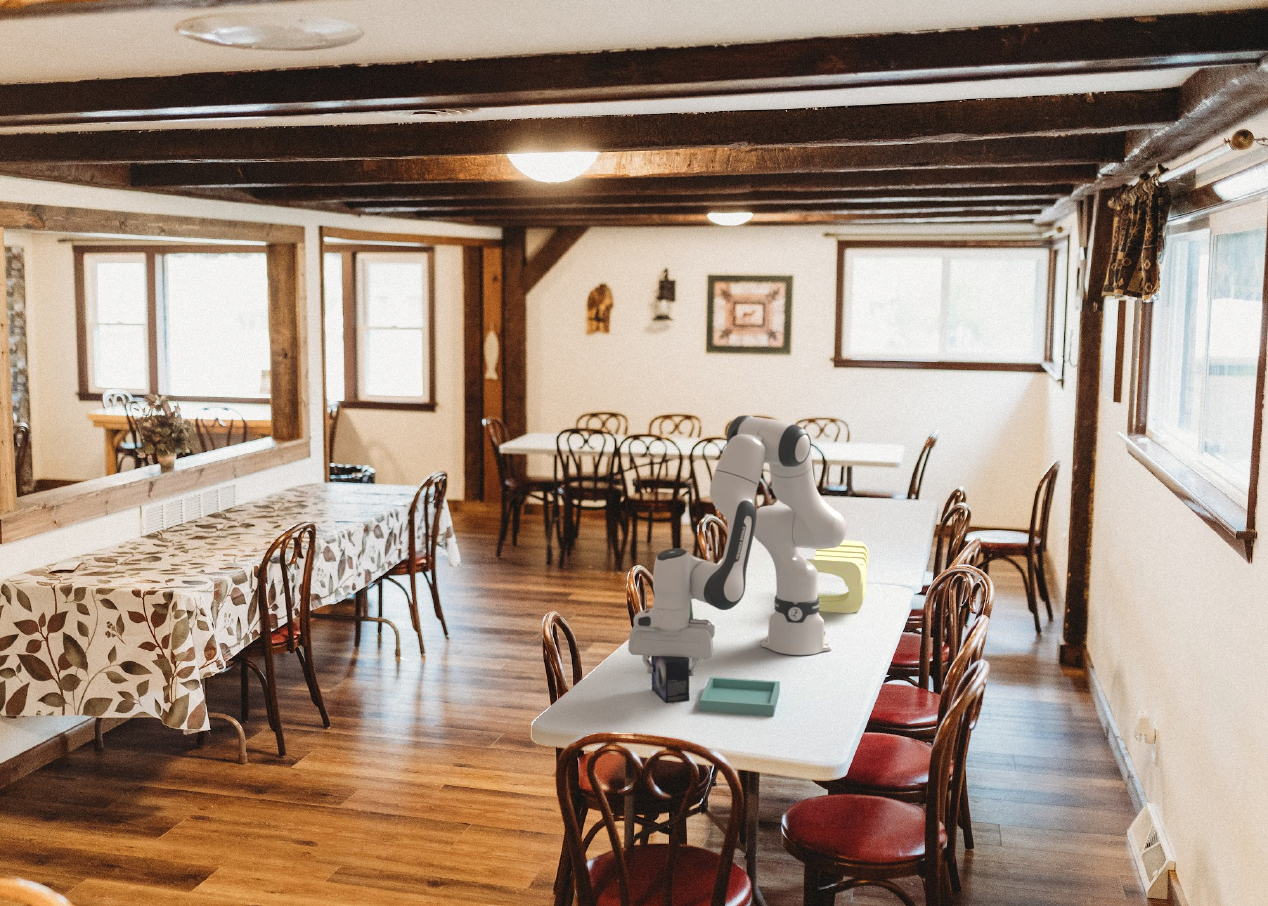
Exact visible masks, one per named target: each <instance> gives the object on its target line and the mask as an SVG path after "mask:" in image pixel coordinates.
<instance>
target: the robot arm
mask: <svg viewBox="0 0 1268 906" xmlns="http://www.w3.org/2000/svg"><path fill="white" fill-rule="evenodd" d="M725 438H726V445H725V448H724V450H723V452H722V454H721V456H720V458H719V461H717V462H718V463H717V465H716V467H715V470H714V473H713V476H712V477H711V478H712V479H711V482H710V485H709V498H710V500H711V502H712V505H713V506H714V507H715V509H716V510H717V511H718V512H719V513H720V514H721V515H722V516H723V517H724V518H725V520H726V522H727V525H728V526H727V527H728V532H727V537H726V542H725V546H724V551H723V556H722V560H721V562H719V563H716V562H712V561H710V560H705V559H702V558H700V557H697V556H695V555H692V554H690V553H689V552H688V551H687V550H686V549H684V548H677V547H676V548H669V549H665V550H662V551H661V552H659V553H658V554H657V556H656V557H655V561H654V565H653V573H652V588H653V589H652V590H653V594H654V598H653V602H652V607H651V608H648V609H644V610H641V611H638V612H637V613H636V614H635V615H634V617H633V620H632V621H633V627H632V628H631V630H630V632H629V638H628V644H627V645H628V647H627V649H628V652H629V654H631V655H633V656H635V655H636V656H642V661H643V662H644V664H645V666H646V670H647V671H646V673H647V674H650V675H652V674H654V665H651V661H650V657H651V656H675V657H687V658H689V659H691V663H693V664H692V666H689V677H694V676H695V668H696V667H697V665H698V663H699V662H700V660H710V659H711V658H712V657H713V655H714V651H715V649H714V641H713V640H714V639H713V638H714V636H715V634H716V632H715V631H716V628H715V625H714V623H713V622H711V621H710V620H708V619H698V618H693V619H690V600H691V601H692V600H697V601H700V602H703V603H706V604H708V605H710V606H711V607H714V608H715V609H718V610H720V611H728V610H731V609H733V608H734V607H735V606H737V605H738V604H739V603H740V602H741V600H742V599H743V597H744V594H745V592H746V591H745V590H746V582H747V581H746V580H747V579H746V578H747V577H746V576H747V568H748V563H749V558H750V554H751V549H752V545H753V540H754V538H755V539H756V541H758V542H759V544H761V545H762V546H763V547H764V548H765V549H766V551H767V552H768V554H769V556H770V557H771V559H772V561H773V565H774V569H775V580H776V595H775V596H774V602H773V604H774V611H773V612H772V614H770V616H769V618H768V629H767V636H766V638H764V639H763V640H762V641H761V643H760V644H761V645H760V646H761V647H762V648H766V649H769V650H771V651H773V652H776V653H779V654H784V655H791V656H808V655H815V654H818V653H819V654H820V653H822V652H829V651H831V650H832V645H831V644H830V642H829V640H828V638H827V636H826V631H825V619H823V617H822V616H821V615H820V613H819V612H820V611H819V606H820V603H819V598H818V595H819V593H818V591H819V590H818V589H819V572H817V569H816V568H815V566H814V565H813V564H812V563H811V562H809V561H807V558H806V559H805V558H804V557H803V556H802V555H801V553H800V552H799V548H801V549H802V548H803V549H810V550H811V549H812V550H816V549H829V548H837V547H838V546H839V545H840V544H841V543H842V542H843V540H845V539H846V536H847V530H848V529H847V523H846V520H845V518H844V516H843V515H842V513H840V512H839V511H837V510H836V509H835V508H833V507H832V506H830V504H828V503H827V502H826V500H824V498H823V497H822V495H821V494H820V493H819V490H818V488H817V485H816V482H815V475H814V468H813V462H812V461H813V459H812V455H811V448H812V446H811V445H812V442H811V437H810V435H809V433H808V431H807V430H806V429H805V428H803V427H801V426H800V425H797V424H790V423H788V422H785V421H781V420H779V419H774V418H765V417H757V416H756V417H755V416H753V415H740V416H739V415H738V416H737V417H736V418H735V419H733V420H732V421H731V423H730V424H729V425H728V428H727V431H726V437H725ZM765 463H767V464H768V466H769V474H770V483H771V487H772V493H773V495H774V497H775V498H776V500H778V501H779V502H780V503H782V504H772V505H763V506H760V507H758V508H757V509H756V506H755V501H756V494H757V490H758V487H759V483H760V481H761V477H762V475H763V474H762V473H763V470H764V464H765ZM783 504H784V505H783Z"/></svg>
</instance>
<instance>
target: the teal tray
mask: <svg viewBox="0 0 1268 906" xmlns="http://www.w3.org/2000/svg"><path fill="white" fill-rule="evenodd" d="M780 683H781V681H778V680H776V681H775V680H764V679H763V680H762V679H760V680H759V679H748V678H747V679H746V678H745V679H744V678H734V677H733V678H732V677H717V676H710V677H709V678H708V681H707V682H706V685H705V687H704V689H703V691H702V694H701V697H700V698H699V712H706V713H707V712H710V713H721V714H722V713H723V714H734V715H736V714H737V715H748V716H749V715H750V716H764V717H774V716H775V712H776V708H777V705H778V704H777V703H778V701H779V696H780V692H781V689H780V688H781V687H780V686H781V684H780Z"/></svg>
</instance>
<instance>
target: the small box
mask: <svg viewBox="0 0 1268 906" xmlns="http://www.w3.org/2000/svg"><path fill="white" fill-rule="evenodd" d="M650 657H651V661H650V663H651V665H654V674H651V691H653V692H654V693H655V694H656V695H657V696H658V698H660V699H661V700H662V701H663V702H664V703H665V704H673V703H682V702H689V701H690V676H689V667H690V658H687V657H675V656H650Z"/></svg>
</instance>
